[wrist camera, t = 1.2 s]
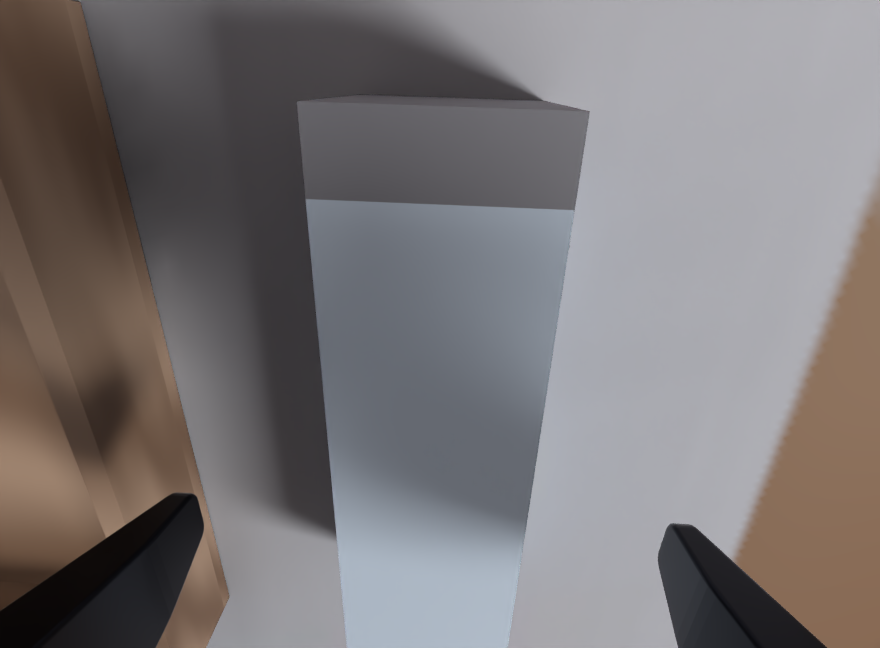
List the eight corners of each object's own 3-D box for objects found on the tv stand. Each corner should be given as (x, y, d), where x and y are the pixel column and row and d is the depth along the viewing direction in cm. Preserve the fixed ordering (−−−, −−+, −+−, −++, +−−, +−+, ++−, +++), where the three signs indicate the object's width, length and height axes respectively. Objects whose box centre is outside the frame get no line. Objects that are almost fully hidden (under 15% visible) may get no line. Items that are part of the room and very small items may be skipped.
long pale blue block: (491, 560, 15) (498, 705, 12) (378, 553, 15) (351, 694, 12) (543, 100, 9) (589, 111, 6) (360, 94, 10) (297, 101, 6)
